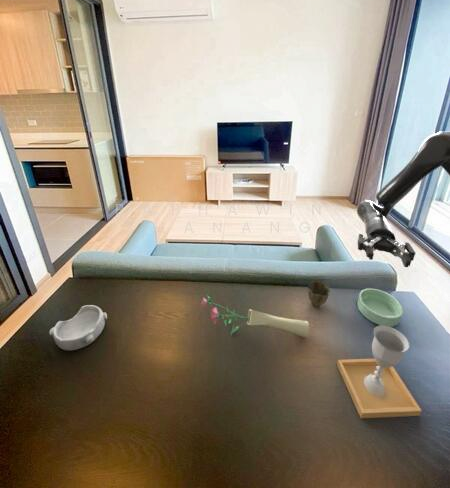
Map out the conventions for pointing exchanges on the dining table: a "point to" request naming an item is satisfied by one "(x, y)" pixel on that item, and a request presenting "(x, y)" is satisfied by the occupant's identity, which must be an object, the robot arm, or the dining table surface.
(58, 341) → the dish
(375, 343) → the chalice
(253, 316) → the flower vase
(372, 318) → the bowl
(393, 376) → the tray
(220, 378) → the dining table surface
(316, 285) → the cup
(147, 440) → the dining table surface
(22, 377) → the dining table surface
